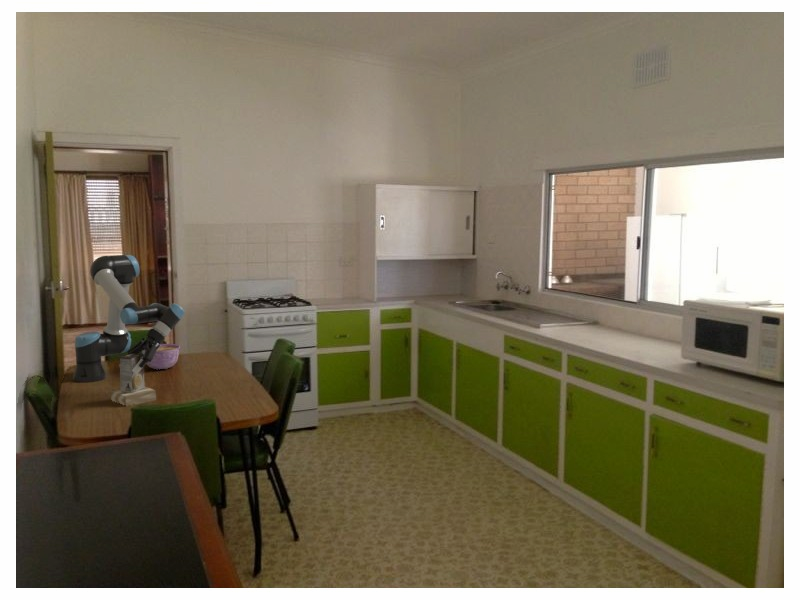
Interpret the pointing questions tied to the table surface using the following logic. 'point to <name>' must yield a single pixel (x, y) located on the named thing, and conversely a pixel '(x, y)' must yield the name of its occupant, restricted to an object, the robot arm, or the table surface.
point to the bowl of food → (164, 356)
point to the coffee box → (131, 373)
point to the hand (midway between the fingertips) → (127, 370)
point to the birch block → (133, 396)
